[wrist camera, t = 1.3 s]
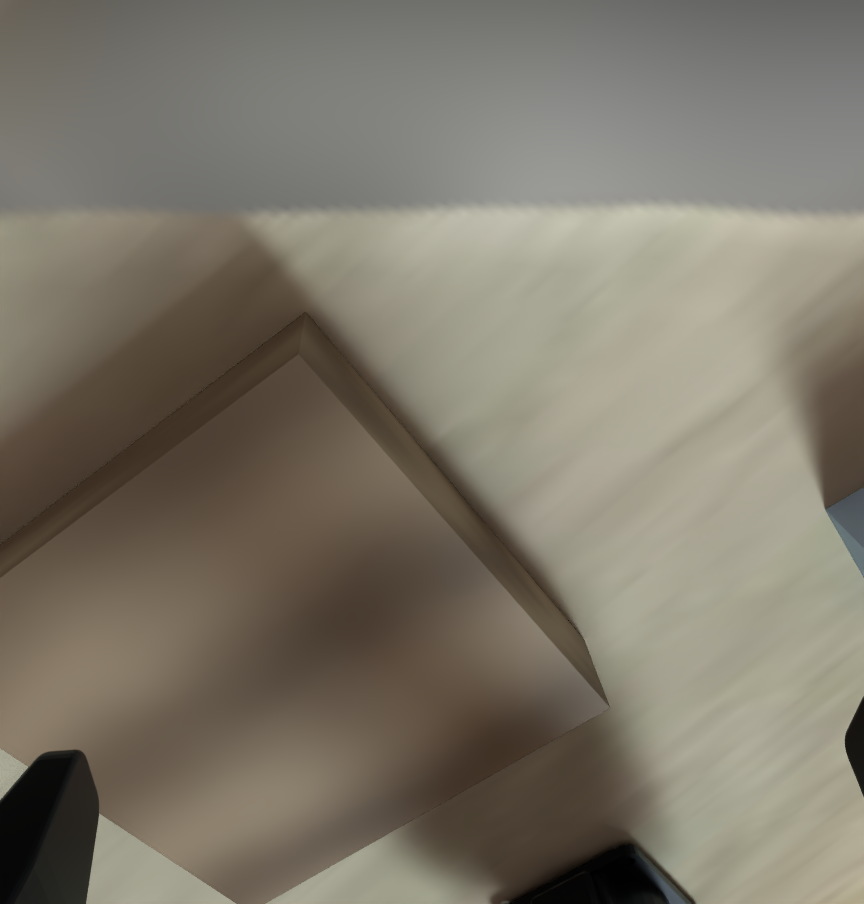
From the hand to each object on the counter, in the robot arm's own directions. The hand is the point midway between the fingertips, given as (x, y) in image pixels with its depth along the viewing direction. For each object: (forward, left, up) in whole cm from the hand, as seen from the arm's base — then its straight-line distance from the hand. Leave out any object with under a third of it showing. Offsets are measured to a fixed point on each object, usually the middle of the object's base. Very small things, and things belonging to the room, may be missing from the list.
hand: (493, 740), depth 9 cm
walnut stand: (-5, +9, -13) cm, 17 cm away
